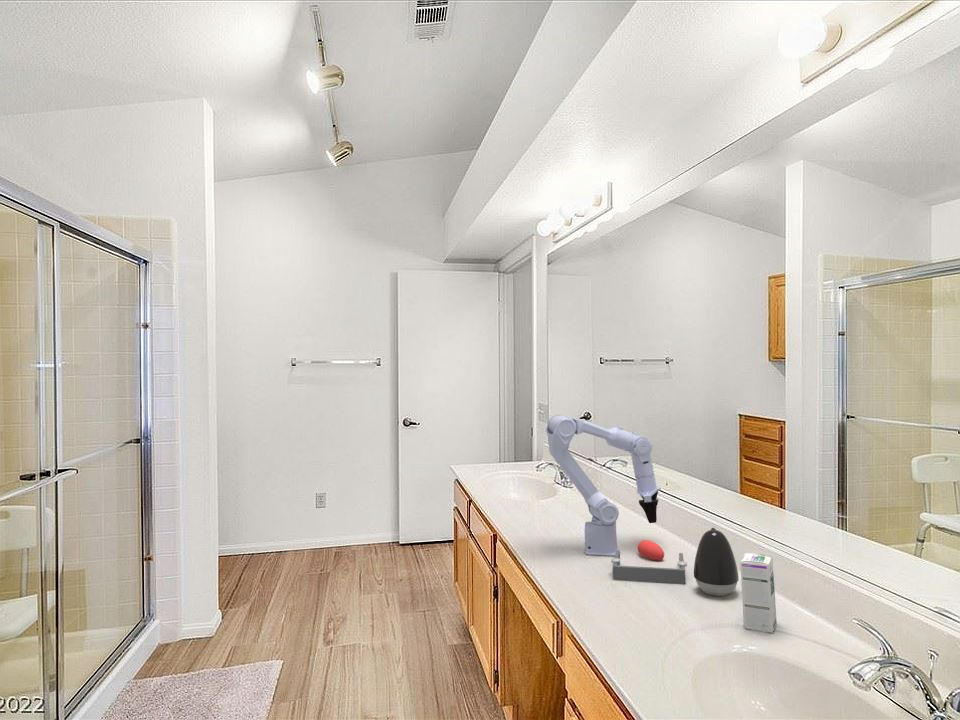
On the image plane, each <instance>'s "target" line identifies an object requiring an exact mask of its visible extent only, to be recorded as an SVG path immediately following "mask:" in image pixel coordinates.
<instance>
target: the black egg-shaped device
mask: <svg viewBox="0 0 960 720" xmlns="http://www.w3.org/2000/svg"><path fill="white" fill-rule="evenodd" d="M693 577H694V579H695V582H696V584H697V586H698V587H699V589H700V590H701V591H703V593H705V594H707V595H710V596H714V597H715V596H716V597H725V596H728V595H730V594H732V593H733V592H734V591H735V589H736V588H737V585H738V582H739V571H738V565H737V562H736V557H735V555H734V551H733V548H732V547H731V543H730V541H729V540H728V538H727V537H726V535H725V534H724V533H723V532H722V531H720V530H717V529H716V528H715V527H711V528H710V529H709V530H707V531H705V532H704V533H703V534H702V536H701V538H700V540H699V543H698V546H697V549H696V553H695V559H694V565H693Z"/></svg>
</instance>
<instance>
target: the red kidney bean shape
mask: <svg viewBox="0 0 960 720" xmlns="http://www.w3.org/2000/svg"><path fill="white" fill-rule="evenodd" d="M637 552H638V554H639V555H641V556H642V557H645V558H646V559H649V560H652V561H658V562H659V561H662V560H663V559H664V558H665V551H664V550H663V548H662V547H661V546H660V545H659V544H657V543H656V542H653V541H651V540H648V539H645V540H642V541H640V542H638V545H637Z"/></svg>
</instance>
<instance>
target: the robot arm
mask: <svg viewBox="0 0 960 720" xmlns="http://www.w3.org/2000/svg"><path fill="white" fill-rule="evenodd" d="M545 432H546V435H547V441H548V443H547V444H548V449H549V451H548V452H549V453H550V455H551V456H552V458H553V460H554V461H555V462H556V463H557V464H558V465H559V466H558V467H560V468H561V470H562V471H563V473H564V474H565V475H566V477H567V478H568V479H569V481H571V483H572V484H573V485H574V487H575V488H576V490H577V491H578V492H579V493H580V495H581V496H582V497H583V500H584V502H585V503H586V505H587V508H588V512H589V513H590V515H591V516H592V517H591V521H585V522H584V549H585V553H584V554H585V555H588V556H590V555H591V556H608V557H609V556H611V557H615V553H616V550H620V546H618V540H617V539H618V538H617V520H618V518H619V514H620V512H619V508H618V507H617V506H616V504H614V503H612V502H610V501H609V500H608V498H606V497H605V496H604V494H602V493H601V492H600V490H599V489H598V488H597V487H596V485H595V483H593V481H592V480H591V479H590V477H589V476H588V475H587V474H586V472H585V470H584V469H583V468H582V467H581V465H580V464H579V463H578V461H576V459H575V458H574V456H573V455H572V454H571V452H570V451H569V448H570V445H571V441H572V439H573V437H574V436H575V435H580V434H583V433H585V434H587V435H588V434H589V435H590V436H594V437H597V438H600V439H604V440H605V442H606V444H607V445H608V446H611V447H613V448H616V449H619V450H622V451H624V452H628V453H630V455H631V456H630V457H631V461H632V466H633V472H634V477H635V478H634V479H635V482H636V490H637V491H636V493H637V494H638V495H639V496H640V497H641V498H642V499H639V500H638V504H639V505H640V507H641V508H642V510H643V511H644V513H645V517H646V519H647V521H648V524H653V523H657V519H658V518H657V516H658V515H657V509H658V503H659V499H658V494H659V491H662V487H661V486H657V482H656V476H655V471H654V466H653V461H652V456H651V453H652V451H653V444H652V442H651V441H650V440H649V439H648V438H647V437H644V436H642V435H641V436H640V435H637V432H635V431H634V432H630V431H626V430H624V428H623V427H621V426H617V427H615V426H613V427H611V428H609V429H607V428H605V427H602V426H599V425H598V424H595V423H592V422H589V421H586V420H584V419H580V418H575V417H570V416H563V415H561V414H554V415H552V416H551V417H550V418H549V419H548V422H547V425H546V429H545Z"/></svg>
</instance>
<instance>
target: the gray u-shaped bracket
mask: <svg viewBox="0 0 960 720" xmlns="http://www.w3.org/2000/svg"><path fill="white" fill-rule="evenodd" d="M610 563H612V578H613V579H612V580H613V581H623V582H624V581H626V582H627V581H628V582H644V583H657V584H658V583H659V584H672V585H673V584H676V585H686V569H685V567H687V566H688V562H687V561H685V559H684V553H683V552H679V553H678V561H677V566H678V567H679V568H672V567H670V568H669V567H651V566H630V565H621V550H620V549H619V550H616V553H615V556H614V557H612V558H610Z"/></svg>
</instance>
